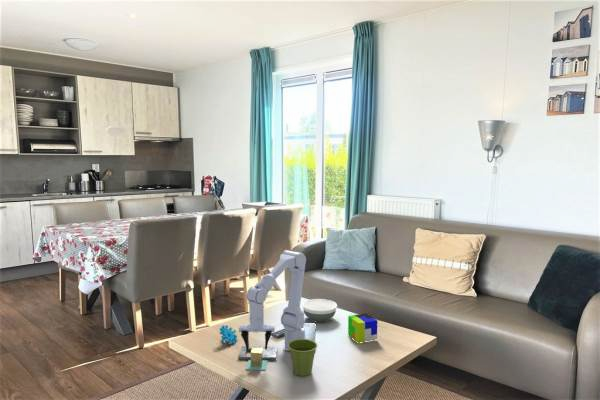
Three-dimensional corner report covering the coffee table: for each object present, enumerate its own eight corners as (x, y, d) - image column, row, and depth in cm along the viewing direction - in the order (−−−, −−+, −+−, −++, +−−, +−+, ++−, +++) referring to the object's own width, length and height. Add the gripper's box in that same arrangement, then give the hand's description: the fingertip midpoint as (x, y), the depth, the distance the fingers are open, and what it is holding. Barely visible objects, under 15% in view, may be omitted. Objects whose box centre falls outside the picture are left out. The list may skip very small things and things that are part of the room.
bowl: (319, 329, 209) (319, 313, 209) (294, 318, 223) (294, 303, 222) (344, 320, 222) (344, 304, 221) (319, 310, 236) (319, 296, 235)
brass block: (262, 361, 174) (262, 347, 174) (261, 366, 170) (261, 352, 169) (252, 361, 174) (252, 347, 174) (250, 366, 170) (250, 352, 169)
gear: (229, 345, 187) (217, 326, 190) (221, 352, 189) (209, 334, 192) (243, 339, 197) (231, 321, 200) (235, 346, 199) (223, 328, 202)
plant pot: (323, 371, 167) (323, 344, 166) (303, 382, 159) (304, 354, 158) (301, 361, 175) (301, 336, 174) (281, 372, 167) (281, 345, 165)
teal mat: (267, 360, 176) (267, 360, 176) (265, 370, 168) (265, 369, 168) (248, 360, 176) (248, 359, 176) (245, 370, 168) (245, 369, 168)
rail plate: (277, 349, 186) (277, 346, 186) (275, 360, 176) (275, 357, 176) (242, 349, 187) (242, 346, 186) (238, 359, 177) (238, 356, 177)
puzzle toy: (376, 340, 196) (377, 320, 195) (358, 344, 193) (358, 323, 192) (366, 332, 206) (366, 313, 205) (348, 335, 202) (348, 315, 201)
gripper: (237, 320, 166) (237, 352, 168) (273, 320, 166) (273, 353, 167) (240, 313, 173) (240, 344, 175) (274, 313, 173) (275, 345, 174)
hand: (256, 348), depth 171 cm, fingers open, 7 cm apart
